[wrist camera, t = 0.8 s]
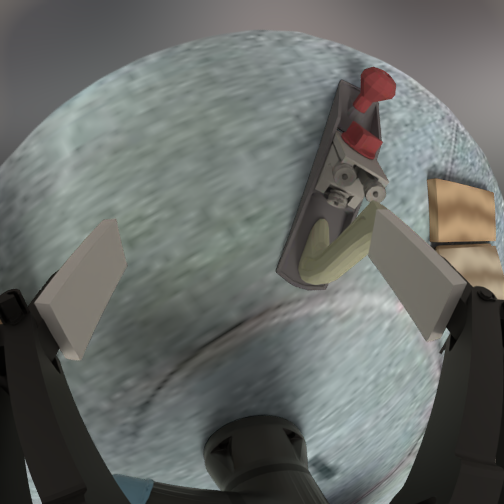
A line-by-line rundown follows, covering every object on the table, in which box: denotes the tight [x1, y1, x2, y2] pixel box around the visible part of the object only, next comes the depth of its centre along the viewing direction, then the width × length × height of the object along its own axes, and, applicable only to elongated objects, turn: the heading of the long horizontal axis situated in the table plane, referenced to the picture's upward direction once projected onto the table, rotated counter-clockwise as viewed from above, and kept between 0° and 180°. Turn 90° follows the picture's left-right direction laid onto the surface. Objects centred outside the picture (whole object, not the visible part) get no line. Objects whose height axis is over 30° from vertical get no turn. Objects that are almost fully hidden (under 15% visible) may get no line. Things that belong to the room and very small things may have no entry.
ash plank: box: [435, 244, 504, 300], centre depth 38 cm, size 13×22×2 cm, turn 92°
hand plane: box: [276, 67, 396, 290], centre depth 27 cm, size 7×31×15 cm, turn 159°
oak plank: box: [427, 178, 496, 242], centre depth 39 cm, size 10×22×2 cm, turn 91°
